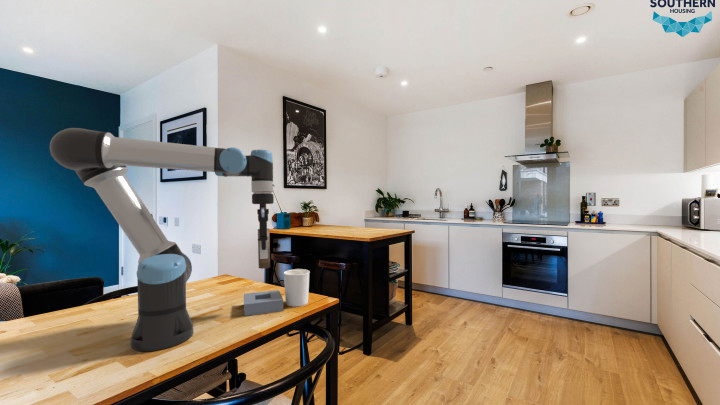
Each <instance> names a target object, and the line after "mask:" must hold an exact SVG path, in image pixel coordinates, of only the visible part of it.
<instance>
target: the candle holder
mask: <svg viewBox="0 0 720 405" xmlns="http://www.w3.org/2000/svg"><path fill="white" fill-rule="evenodd" d="M310 273H311V272H310V270H308V269H305V268H304V269H303V268H295V269H289V270H284V272H283V281H284V294H285V295H284V296H285V297H284V298H285V304H286V306H288V307H291V306H292V307H293V308H294V307H295V308H296V307H302V306H305V305H307V304H308V302H309V295H310V294H309V292H310V291H309V289H310Z"/></svg>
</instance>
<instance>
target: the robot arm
mask: <svg viewBox="0 0 720 405" xmlns="http://www.w3.org/2000/svg"><path fill="white" fill-rule="evenodd" d="M49 151H50V155H51V157H52V158H53V159H54V161H55V162H57V163H58V164H59V165H60V166H62V167H64V168H65V169H69V170H72V171H74V172H75V173H76V175H77V176H78V178H79V179H80V180H81V182H82V183H83V185H84V186H87V187H90V188H93V189H94V190H95V191H96V193H97V194H98V195H99V197H100V199H101V200H102V201H103V203H104V205H105V207H107V210H108V211H109V212H110V213H111V215H112V216H113V218H114V219H115V221H116V222H117V224H118V225H119V227H120V228H121V229H122V231H123V233H124V235H125V236H126V237H127V239H128V240H129V241H130V242H131V244H132V246H133V248H134V249H135V250H136V252H137V253H138V255H139V258H138V261H137V264H138V265H137V271H136V277H137V314H138V316H137V319H136V322H135V325H134V327H133V331H132V334H131V337H130V348H131V349H133V350H135V351H138V352H152V351H158V350H159V351H160V350H164V349H168V348H169V349H170V348H171V347H174V346H177V345H180V344H182V343H185V342H186V341H188V340H189V339H190V338H191V337H193V335H194V325H193V322H192V319H191V317H190V314H189V312H188V310H187V287H186V286H187V282H188V281H189V279H190V278H191V275H192V272H193V265H192V262H191V259H190V258H189V256H187V254H185V253H183V252H182V250H181V248H180V247H179V246H178V244H177V243H176V242H175V241H170V240H168V239H167V237H166V235H165V234H164V232H163V231H162V229H161V227H160V226H159V224H157V221H156V220H155V219H154V216H153V215H152V213H151V212H150V211H149V209H148V208H147V207H146V205H145V203H144V201H143V199H141V197H140V195H139V194H138V192H137V191H136V190H135V188H134V187H133V185H132V184H131V182H130V180H129V179H128V177H127V172H128V170H129V169H128V167H137V168H138V167H139V168H140V167H142V168H152V169H169V170H182V171H195V172H198V171H199V172H208V173H209V172H210V173H214V175H215V176H217V177H224V178H227V177H247V178H248V177H251V193H252V194H251V203H252V204H253V205H259V209H256V210H257V212H256V213H257V221H258V223H259V229H260V237H259V239H258V238H257V242H258V241H260V259H268V240H267V239H268V237H267V228H268V221H269V213H270V209H269V208H267V205H272V204H274V201H275V200H274V198H275V196H274V187H276V184H275V183H274V161H273V153H272V152H271V150H267V149H252V150H251V151H250V154H249V155H245V153H244V152H243V151H242V150H241V149H240V148H238V147H227V148H223V147H214V146H205V145H203V146H202V145H193V144H184V143H183V144H182V143H175V142H164V141H156V140H146V139H135V138H127V137H126V138H125V137H119V136H117V137H116V136H114V135H113V133H111V132H108V131H107V132H106V131H99V130H92V129H86V128H81V127H80V128H79V127H69V128H65V129H63V130H60V131H58V132H57V133H56V134H54V136H53V137H52V138H51V140H50V142H49Z"/></svg>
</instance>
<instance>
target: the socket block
mask: <svg viewBox="0 0 720 405" xmlns="http://www.w3.org/2000/svg"><path fill="white" fill-rule="evenodd" d="M277 312H284V299H283V297H282V294H281V291H280V289H275V290H266V291H259V292H258V291H257V292H249V293H244V294H243V313H244V317H248V316H249V317H250V316H255V315H257V316H258V315H263V314H269V313H270V314H271V313H277Z"/></svg>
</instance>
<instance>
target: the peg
mask: <svg viewBox="0 0 720 405" xmlns="http://www.w3.org/2000/svg"><path fill="white" fill-rule="evenodd" d="M259 237H260V228H258V229H257V248H258V249H257V252H258V253H257V254H258V255H257V256H258V257H257V258H258V269H261V270H263V269H269V268H271V250H270V248H271V247H270V246H271V245H270V244H271V243H270V242H271V240H270V239H271V238H270V237H271V236H270V228H268V227H267V237H268V239H267V240H268V259H260V241H258V239H259Z"/></svg>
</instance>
